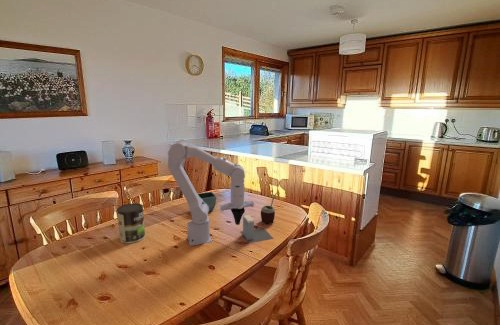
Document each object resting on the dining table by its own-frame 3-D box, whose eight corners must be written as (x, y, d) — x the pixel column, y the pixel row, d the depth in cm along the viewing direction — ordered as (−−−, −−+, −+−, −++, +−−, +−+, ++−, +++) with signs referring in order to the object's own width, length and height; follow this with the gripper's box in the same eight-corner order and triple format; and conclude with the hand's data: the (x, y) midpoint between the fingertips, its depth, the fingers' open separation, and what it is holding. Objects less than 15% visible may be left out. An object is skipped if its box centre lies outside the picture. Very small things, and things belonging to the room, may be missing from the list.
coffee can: (150, 233, 118) (148, 204, 115) (136, 244, 108) (133, 213, 105) (130, 230, 120) (127, 202, 117) (114, 241, 110) (111, 211, 107)
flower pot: (197, 208, 146) (196, 193, 144) (212, 206, 150) (211, 191, 148) (201, 214, 139) (200, 198, 137) (216, 211, 142) (216, 196, 140)
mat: (248, 244, 110) (248, 243, 110) (239, 232, 120) (239, 231, 120) (273, 239, 114) (273, 238, 114) (263, 228, 124) (263, 227, 124)
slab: (247, 240, 112) (247, 221, 110) (242, 233, 118) (243, 215, 116) (253, 239, 113) (254, 220, 111) (248, 232, 119) (249, 214, 117)
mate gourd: (259, 224, 128) (260, 196, 125) (262, 218, 136) (263, 190, 132) (274, 226, 126) (275, 197, 123) (276, 219, 134) (277, 192, 131)
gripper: (223, 199, 103) (223, 230, 106) (256, 195, 108) (256, 225, 111) (218, 193, 109) (219, 223, 112) (250, 190, 114) (250, 218, 117)
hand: (237, 223), depth 112 cm, fingers closed
